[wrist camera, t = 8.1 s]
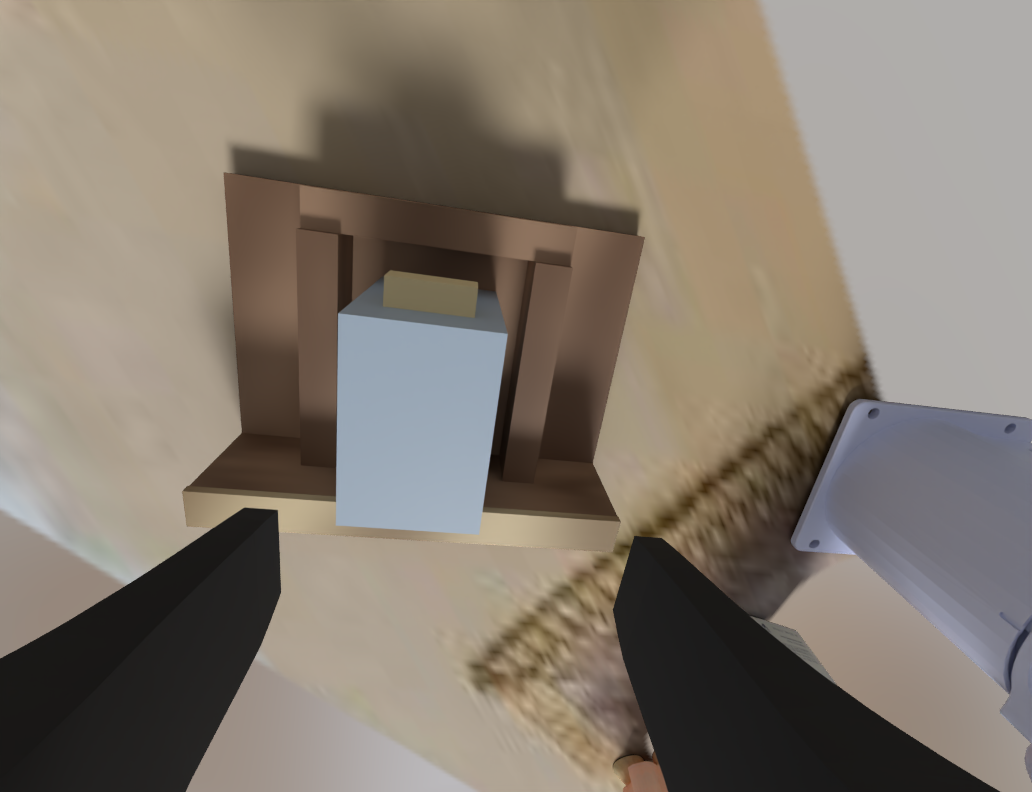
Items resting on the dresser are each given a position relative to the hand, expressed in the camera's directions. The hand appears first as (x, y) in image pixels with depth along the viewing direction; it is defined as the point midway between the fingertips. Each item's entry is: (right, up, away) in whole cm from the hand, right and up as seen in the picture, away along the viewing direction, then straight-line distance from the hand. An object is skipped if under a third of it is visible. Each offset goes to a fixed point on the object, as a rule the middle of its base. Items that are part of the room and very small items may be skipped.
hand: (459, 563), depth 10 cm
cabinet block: (-2, +5, +8) cm, 10 cm away
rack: (-2, +5, +9) cm, 10 cm away
